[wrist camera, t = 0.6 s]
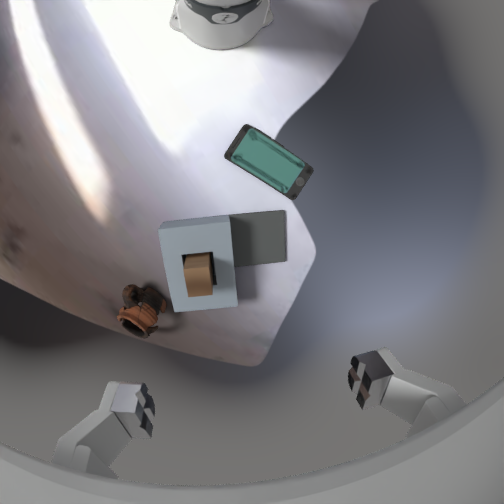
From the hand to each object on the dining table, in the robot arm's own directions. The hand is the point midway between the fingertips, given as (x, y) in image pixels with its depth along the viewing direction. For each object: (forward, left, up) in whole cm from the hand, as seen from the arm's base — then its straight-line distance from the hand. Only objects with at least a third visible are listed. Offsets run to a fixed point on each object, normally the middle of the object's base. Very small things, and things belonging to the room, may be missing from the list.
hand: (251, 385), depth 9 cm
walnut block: (+11, -5, -41) cm, 42 cm away
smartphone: (-6, +9, -42) cm, 43 cm away
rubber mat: (+8, +6, -41) cm, 42 cm away
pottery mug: (+19, -19, -42) cm, 50 cm away
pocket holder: (+11, -5, -41) cm, 43 cm away
